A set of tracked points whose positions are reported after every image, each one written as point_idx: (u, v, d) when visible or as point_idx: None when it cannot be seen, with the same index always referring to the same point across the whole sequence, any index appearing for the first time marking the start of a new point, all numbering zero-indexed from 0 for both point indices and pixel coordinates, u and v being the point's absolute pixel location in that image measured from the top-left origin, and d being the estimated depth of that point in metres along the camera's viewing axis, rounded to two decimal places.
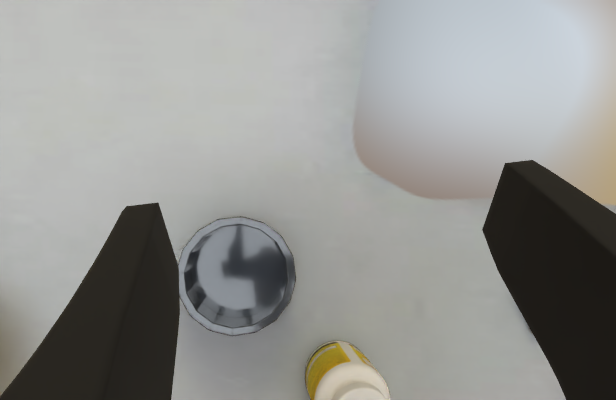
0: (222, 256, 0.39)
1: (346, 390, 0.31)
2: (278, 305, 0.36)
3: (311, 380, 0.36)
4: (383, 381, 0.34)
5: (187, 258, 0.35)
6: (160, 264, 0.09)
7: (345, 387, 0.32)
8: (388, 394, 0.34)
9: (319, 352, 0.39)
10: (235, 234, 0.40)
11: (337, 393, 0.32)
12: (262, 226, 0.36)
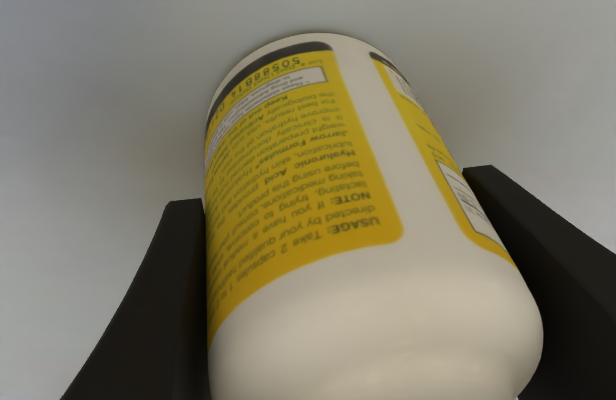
0: None
1: None
2: None
3: (210, 222, 0.09)
4: (540, 327, 0.07)
5: None
6: (205, 258, 0.09)
7: None
8: (538, 361, 0.08)
9: (253, 87, 0.10)
10: None
11: None
12: None
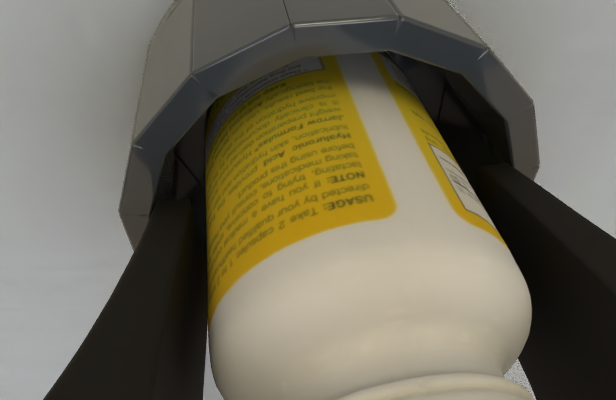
0: None
1: None
2: None
3: (211, 205, 0.09)
4: (528, 301, 0.07)
5: (156, 174, 0.09)
6: (193, 260, 0.09)
7: None
8: None
9: None
10: None
11: None
12: (476, 63, 0.08)
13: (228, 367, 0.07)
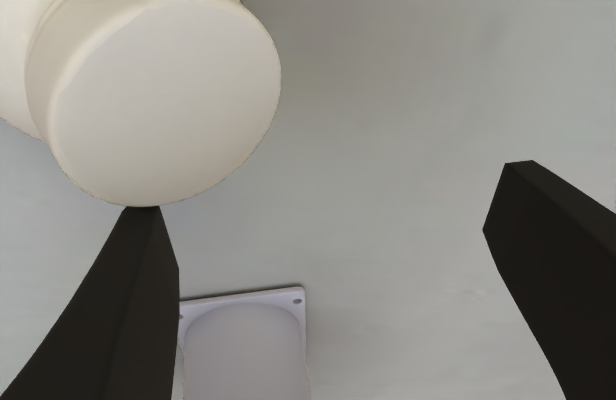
0: None
1: (92, 19, 0.06)
2: None
3: None
4: None
5: None
6: (160, 264, 0.09)
7: None
8: None
9: None
10: None
11: (48, 31, 0.07)
12: None
13: None
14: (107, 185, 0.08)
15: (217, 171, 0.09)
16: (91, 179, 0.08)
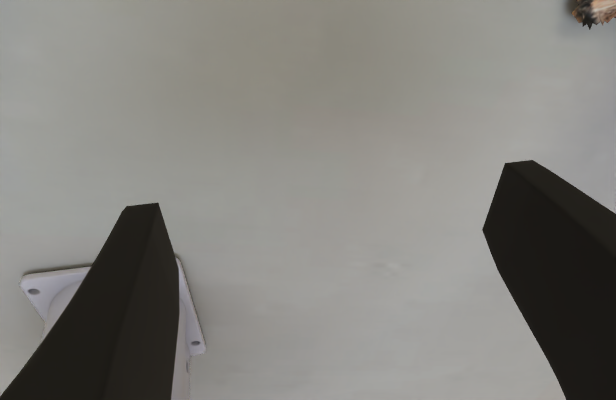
0: None
1: None
2: None
3: None
4: None
5: None
6: (160, 264, 0.09)
7: None
8: None
9: None
10: None
11: None
12: None
13: None
14: None
15: None
16: None
